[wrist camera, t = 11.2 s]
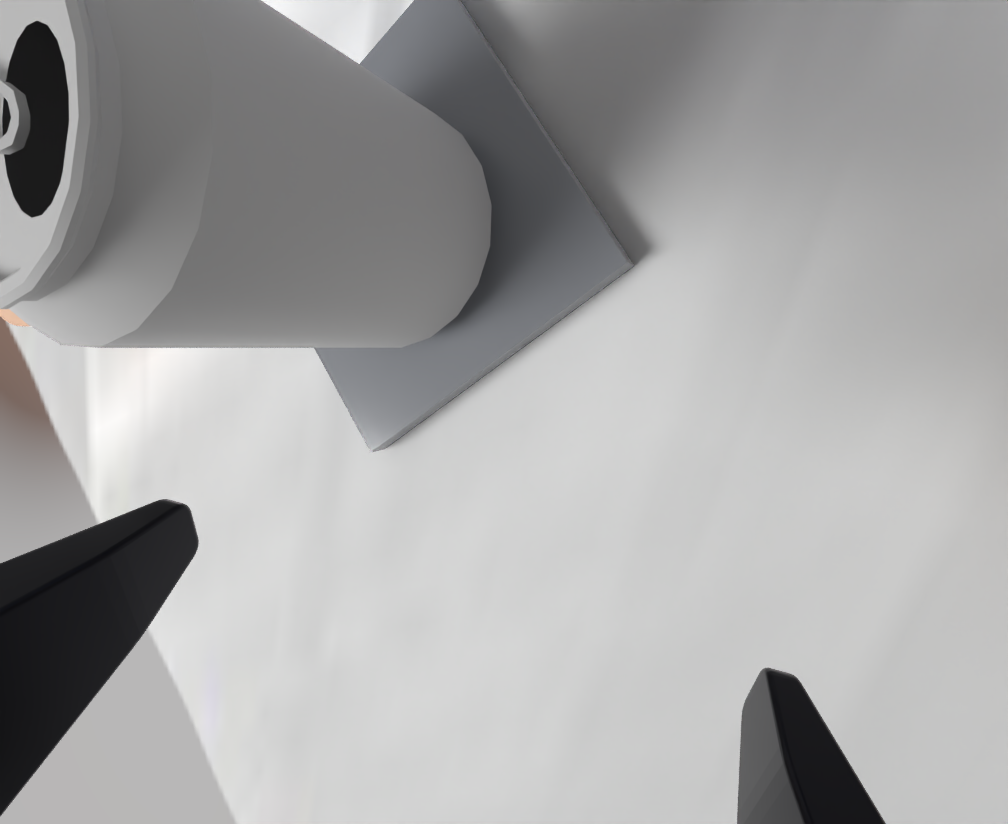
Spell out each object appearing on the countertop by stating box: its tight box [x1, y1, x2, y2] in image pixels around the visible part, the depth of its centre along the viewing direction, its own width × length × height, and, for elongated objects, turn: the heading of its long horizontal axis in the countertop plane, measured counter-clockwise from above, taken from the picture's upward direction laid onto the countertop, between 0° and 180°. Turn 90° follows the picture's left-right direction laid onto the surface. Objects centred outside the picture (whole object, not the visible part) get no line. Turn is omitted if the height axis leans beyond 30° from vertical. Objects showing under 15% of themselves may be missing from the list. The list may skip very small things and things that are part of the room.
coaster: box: [315, 0, 634, 452], centre depth 20 cm, size 11×11×1 cm
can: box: [0, 0, 492, 348], centre depth 15 cm, size 8×8×12 cm
